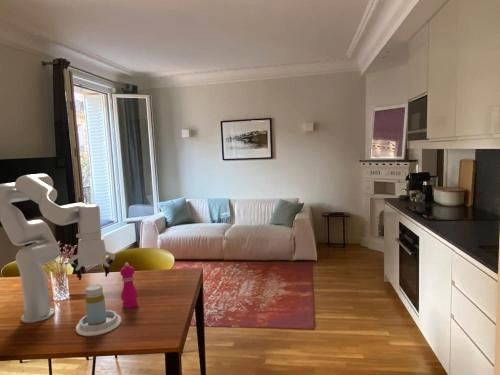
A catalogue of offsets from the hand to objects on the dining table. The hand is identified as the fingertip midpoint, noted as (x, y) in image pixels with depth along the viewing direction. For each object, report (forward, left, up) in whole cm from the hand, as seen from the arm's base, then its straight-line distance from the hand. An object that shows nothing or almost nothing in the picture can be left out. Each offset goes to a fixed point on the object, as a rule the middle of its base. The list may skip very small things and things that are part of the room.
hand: (93, 277), depth 142 cm
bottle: (0, 0, -19) cm, 19 cm away
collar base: (+1, 0, -20) cm, 20 cm away
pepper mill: (-2, +19, -20) cm, 28 cm away
